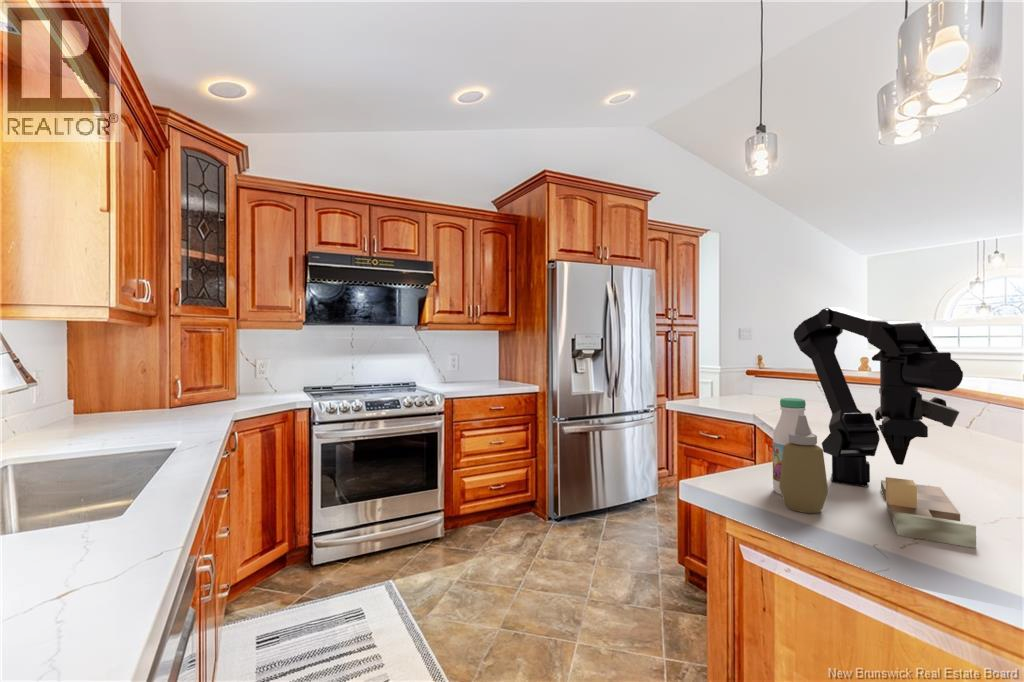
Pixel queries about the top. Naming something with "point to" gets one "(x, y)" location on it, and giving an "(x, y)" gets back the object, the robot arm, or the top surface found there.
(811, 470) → the squeeze bottle
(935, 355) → the robot arm
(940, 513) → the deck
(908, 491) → the block
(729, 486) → the top surface
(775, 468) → the milk bottle
